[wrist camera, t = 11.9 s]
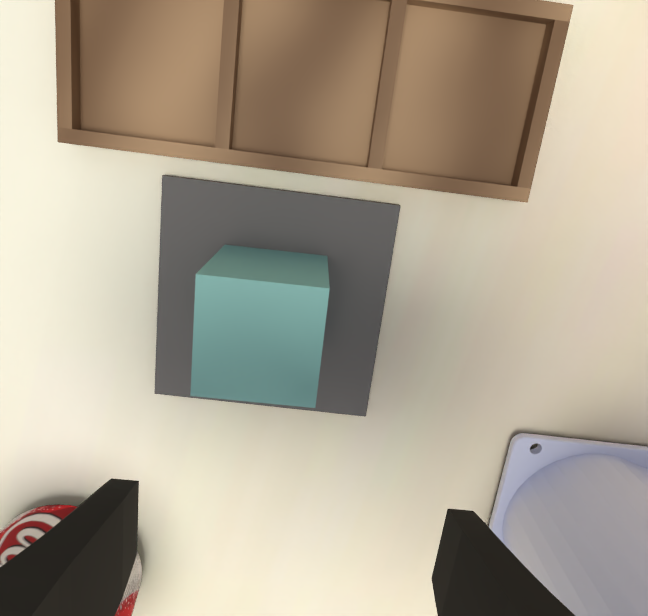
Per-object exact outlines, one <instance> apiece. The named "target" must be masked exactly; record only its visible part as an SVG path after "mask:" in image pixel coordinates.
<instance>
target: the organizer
mask: <svg viewBox="0 0 648 616" xmlns="http://www.w3.org/2000/svg"><path fill="white" fill-rule="evenodd" d="M572 9H573V5H569V4H562V3H556V2H549V1H542V0H55V26H56V77H57V127H58V142H62V143H69V144H77V145H85V146H93V147H100V148H108V149H116V150H124V151H131V152H139V153H147V154H155V155H163V156H170V157H178V158H186V159H194V160H201V161H209V162H217V163H225V164H232V165H240V166H248V167H256V168H264V169H271V170H279V171H287V172H295V173H302V174H310V175H318V176H326V177H334V178H341V179H349V180H357V181H365V182H372V183H380V184H388V185H396V186H403V187H411V188H419V189H427V190H435V191H442V192H450V193H458V194H466V195H473V196H481V197H489V198H497V199H505V200H512V201H520V202H528V198H529V194H530V189H531V185H532V181H533V176H534V172H535V168H536V164H537V159H538V155H539V151H540V146H541V142H542V138H543V134H544V129H545V125H546V121H547V116H548V112H549V108H550V104H551V99H552V95H553V91H554V87H555V82H556V78H557V74H558V69H559V65H560V61H561V57H562V52H563V48H564V44H565V39H566V35H567V31H568V27H569V22H570V18H571V14H572Z"/></svg>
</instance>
